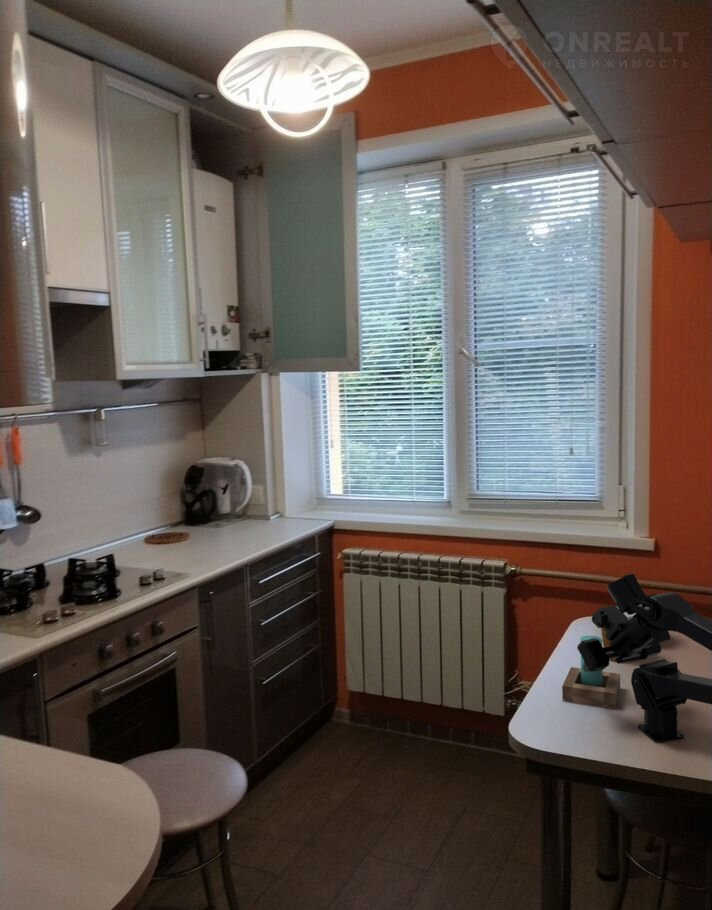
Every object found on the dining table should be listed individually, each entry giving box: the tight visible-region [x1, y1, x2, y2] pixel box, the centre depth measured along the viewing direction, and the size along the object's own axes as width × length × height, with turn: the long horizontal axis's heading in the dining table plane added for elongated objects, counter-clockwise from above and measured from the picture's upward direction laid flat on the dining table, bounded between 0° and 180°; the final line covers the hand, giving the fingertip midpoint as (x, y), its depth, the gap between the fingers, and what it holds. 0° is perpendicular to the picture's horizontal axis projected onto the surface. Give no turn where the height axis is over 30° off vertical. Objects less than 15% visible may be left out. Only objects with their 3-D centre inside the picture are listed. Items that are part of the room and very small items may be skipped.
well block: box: [561, 666, 621, 710], centre depth 165 cm, size 11×11×4 cm
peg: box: [580, 635, 603, 687], centre depth 164 cm, size 5×5×13 cm
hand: (600, 665), depth 162 cm, fingers open, 9 cm apart
